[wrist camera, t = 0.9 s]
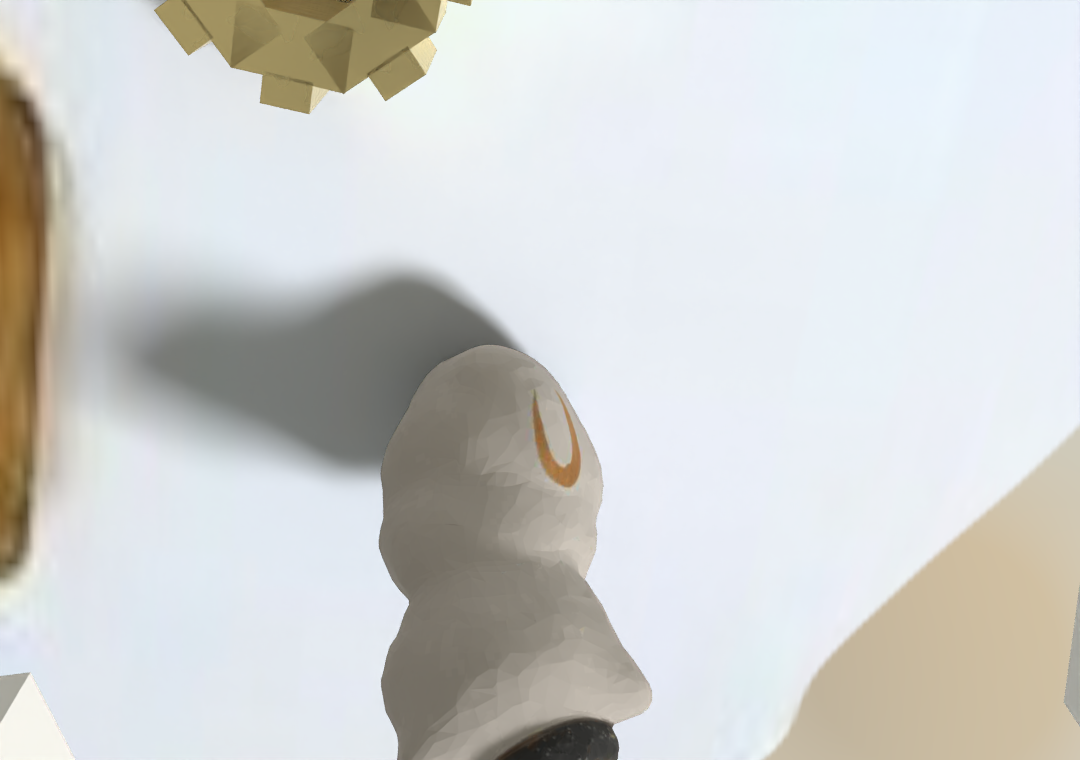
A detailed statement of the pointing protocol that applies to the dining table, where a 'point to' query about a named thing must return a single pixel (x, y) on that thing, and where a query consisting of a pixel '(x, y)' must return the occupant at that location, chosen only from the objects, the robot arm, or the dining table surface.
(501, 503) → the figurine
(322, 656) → the dining table surface
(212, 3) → the brass gear
